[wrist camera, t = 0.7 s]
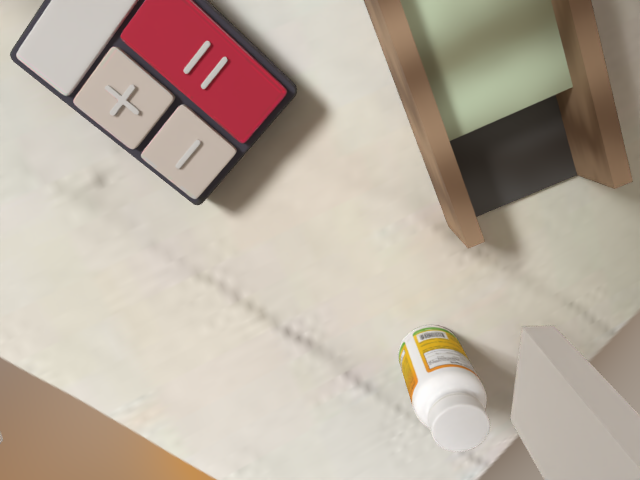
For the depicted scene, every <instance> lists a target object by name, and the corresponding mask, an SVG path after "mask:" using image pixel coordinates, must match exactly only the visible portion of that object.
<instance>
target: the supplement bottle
mask: <svg viewBox="0 0 640 480" xmlns="http://www.w3.org/2000/svg"><path fill="white" fill-rule="evenodd" d="M398 357H399V362H400V366H401V369H402V372H403V376H404V379H405V382H406V386H407V389H408V392H409V396H410V399H411V402H412V406H413V409H414V411H415V414H416V416H417V417H418V419H419V420H420V421H421V423H422V424H424V425H425V426H426V427H428V428H429V429H430V431H431V434H432V436H433V439H434V440H435V442H436V443H437V444H438V445H439V446H440V447H442V448H443V449H445V450H448V451H452V452H464V451H468V450H471V449H473V448H475V447H477V446H479V445H480V444H481V443H482V442H483V441H484V440H485V439H486V437H487V435H488V433H489V430H490V421H489V417H488V415H487V413H486V411H485V408H486V403H487V396H486V392H485V389H484V386H483V384H482V382H481V381H480V379H479V377H478V375H477V374H476V372H475V370H474V368H473V366H472V365H471V363H470V361H469V359H468V357H467V356H466V354H465V352H464V350H463V348H462V346H461V345H460V343H459V341H458V340H457V338H456V337H455V335H454V334H453V333H452V332H451V331H449V330H448V329H446V328H444V327H441V326H437V325H425V326H421V327H418V328H416V329H414V330H412V331H411V332H409V333H408V334H407V335H406V336H405V337H404V339H403V340H402V342H401V344H400V347H399V352H398Z"/></svg>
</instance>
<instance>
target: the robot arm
mask: <svg viewBox="0 0 640 480" xmlns="http://www.w3.org/2000/svg"><path fill="white" fill-rule="evenodd" d="M510 420H511V422H512V424H513V426H514V427H515V429H516V431H517V433H518V434H519V436H520V438H521V440H522V441H523V443H524V445H525V447H526V448H527V450H528V452H529V453H530V455H531V457H532V459H533V461H534V462H535V464H536V466H537V467H538V469H539V471H540V473H541V475H542V476H543V478H544V480H640V415H639V414H638V413H637V412H636V411H635V410H634V409H633V408H632V406H631V405H630V404H629V403H628V402H627V401H626V400H625V399H624V398H623V397H622V396H621V395H620V394H619V393H618V392H617V391H616V390H615V389H614V388H613V387H612V386H611V384H609V382H607V380H606V379H605V378H604V377H603V376H602V375H601V374H600V373H599V372H598V371H597V370H596V369H595V368H594V367H593V366H592V365H591V364H590V363H589V362H588V360H587V359H586V358H585V357H584V356H583V355H582V354H581V353H580V352H579V351H578V350H577V349H576V348H575V347H574V346H573V345H572V344H571V343H570V342H569V341H568V340H567V339H566V337H565V336H564V335H563V334H562V333H561V332H560V331H559V330H558V329H557V328H556V327H555V326H554V325H551V326H525V327H522V331H521V339H520V347H519V355H518V363H517V371H516V378H515V386H514V394H513V402H512V410H511V418H510ZM2 441H3V439H2V435H1V432H0V443H1V442H2Z"/></svg>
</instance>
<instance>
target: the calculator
mask: <svg viewBox="0 0 640 480" xmlns="http://www.w3.org/2000/svg"><path fill="white" fill-rule="evenodd" d="M10 56H11V59H12V60H13V61H14V62H15V63H16V64H17V65H19V66H20V67H21V68H22V69H24V70H25V71H26V72H27V73H29V74H30V75H31V76H32V77H34V78H35V79H36V80H38V81H39V82H40V83H41V84H43V85H44V86H45V87H46V88H48V89H49V90H50V91H51V92H53V93H54V94H55V95H56V96H58V97H59V98H60V99H62V100H63V101H64V102H65V103H67V104H68V105H69V106H70V107H72V108H73V109H74V110H75V111H77V112H78V113H79V114H80V115H82V116H83V117H84V118H86V119H87V120H88V121H89V122H91V123H92V124H93V125H94V126H96V127H97V128H98V129H99V130H101V131H102V132H103V133H104V134H106V135H107V136H108V137H110V138H111V139H112V140H113V141H115V142H116V143H117V144H118V145H120V146H121V147H122V148H123V149H125V150H126V151H127V152H128V153H130V154H131V155H132V156H134V157H135V158H136V159H137V160H139V161H140V162H141V163H142V164H144V165H145V166H146V167H147V168H149V169H150V170H151V171H152V172H154V173H155V174H156V175H158V176H159V177H160V178H161V179H163V180H164V181H165V182H166V183H168V184H169V185H170V186H171V187H173V188H174V189H175V190H176V191H178V192H179V193H180V194H182V195H183V196H184V197H185V198H187V199H188V200H189V201H190V202H192V203H193V204H195V205H200V204H202V203H203V202H204V201H205V199H206V198H207V197H208V196H209V195H210V194H211V193H212V191H213V190H214V189H215V188H216V187H217V186H218V184H219V183H220V182H221V181H222V180H223V179H224V178H225V176H226V175H227V174H228V173H229V172H230V171H231V169H232V168H233V167H234V166H235V165H236V164H237V163H238V161H239V160H240V159H241V158H242V157H243V156H244V154H245V153H246V152H247V151H248V150H249V149H250V148H251V146H252V145H253V144H254V143H255V142H256V141H257V139H258V138H259V137H260V136H261V135H262V134H263V133H264V131H265V130H266V129H267V128H268V127H269V126H270V124H271V123H272V122H273V121H274V120H275V119H276V117H277V116H278V115H279V114H280V113H281V112H282V111H283V109H284V108H285V107H286V106H287V105H288V104H289V102H290V101H291V100H292V99H293V98H294V97H295V95H296V93H297V88H296V85H295V84H294V83H293V82H292V81H291V80H290V79H289V78H288V77H287V76H286V75H285V74H284V73H283V72H282V71H281V70H280V69H279V68H278V67H276V66H275V65H274V64H273V63H272V62H271V61H270V60H269V59H268V58H267V57H266V56H265V55H264V54H263V53H262V52H261V51H260V50H259V49H258V48H257V47H255V46H254V45H253V44H252V43H251V42H250V41H249V40H248V39H247V38H246V37H245V36H244V35H243V34H242V33H241V32H240V31H239V30H238V29H237V28H236V27H234V26H233V25H232V24H231V23H230V22H229V21H228V20H227V19H226V18H225V17H224V16H223V15H222V14H221V13H220V12H219V11H218V10H217V9H216V8H215V7H213V6H212V5H211V4H210V3H209V2H208V1H207V0H45V1H44V2H43V4H42V5H41V7H40V8H39V10H38V11H37V13H36V14H35V16H34V17H33V19H32V20H31V22H30V23H29V25H28V26H27V28H26V29H25V31H24V32H23V34H22V35H21V37H20V38H19V40H18V41H17V43H16V44H15V46H14V47H13V49H12V51H11V53H10Z"/></svg>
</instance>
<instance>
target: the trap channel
mask: <svg viewBox="0 0 640 480" xmlns="http://www.w3.org/2000/svg"><path fill="white" fill-rule="evenodd" d="M364 2H365V5H366V7H367V10H368V13H369V15H370V18H371V21H372V23H373V26H374V29H375V31H376V34H377V37H378V39H379V42H380V45H381V47H382V50H383V53H384V55H385V58H386V61H387V63H388V66H389V69H390V72H391V74H392V77H393V80H394V82H395V85H396V88H397V90H398V93H399V96H400V98H401V101H402V104H403V106H404V109H405V112H406V114H407V117H408V120H409V122H410V125H411V128H412V130H413V133H414V136H415V138H416V141H417V144H418V146H419V149H420V152H421V154H422V157H423V160H424V162H425V165H426V168H427V170H428V173H429V176H430V178H431V181H432V184H433V186H434V189H435V192H436V194H437V197H438V200H439V202H440V205H441V208H442V210H443V213H444V216H445V218H446V221H447V224H448V226H449V228H450V229H451V230H452V231H453V232H454V233H455V234H456V235H457V236H458V238H459V239H460V240H461V241H462V242H463V243H464V244H465V245H466V246H467V248H471V247H473V246H475V245H478V244H480V243H483V242H485V241H484V238H483V235H482V232H481V229H480V226H479V224H478V221H477V218H476V217H477V216H479V215H482V214H484V213H486V212H489V211H491V210H494V209H496V208H498V207H501V206H503V205H506V204H508V203H510V202H513V201H515V200H518V199H520V198H523V197H525V196H527V195H530V194H532V193H535V192H537V191H539V190H542V189H544V188H547V187H549V186H551V185H554V184H556V183H559V182H561V181H563V180H566V179H568V178H571V177H573V176H576V175H579V176H582V177H584V178H587V179H590V180H592V181H595V182H598V183H600V184H603V185H606V186H609V187H611V188H614V189H615V188H618V187H620V186H623V185H625V184H628V183H630V182H633V181H632V176H631V172H630V168H629V163H628V159H627V155H626V150H625V146H624V142H623V137H622V133H621V129H620V124H619V120H618V116H617V111H616V107H615V103H614V98H613V94H612V89H611V85H610V81H609V76H608V72H607V68H606V63H605V59H604V55H603V50H602V46H601V42H600V37H599V33H598V29H597V24H596V20H595V16H594V11H593V7H592V3H591V0H364Z"/></svg>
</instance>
